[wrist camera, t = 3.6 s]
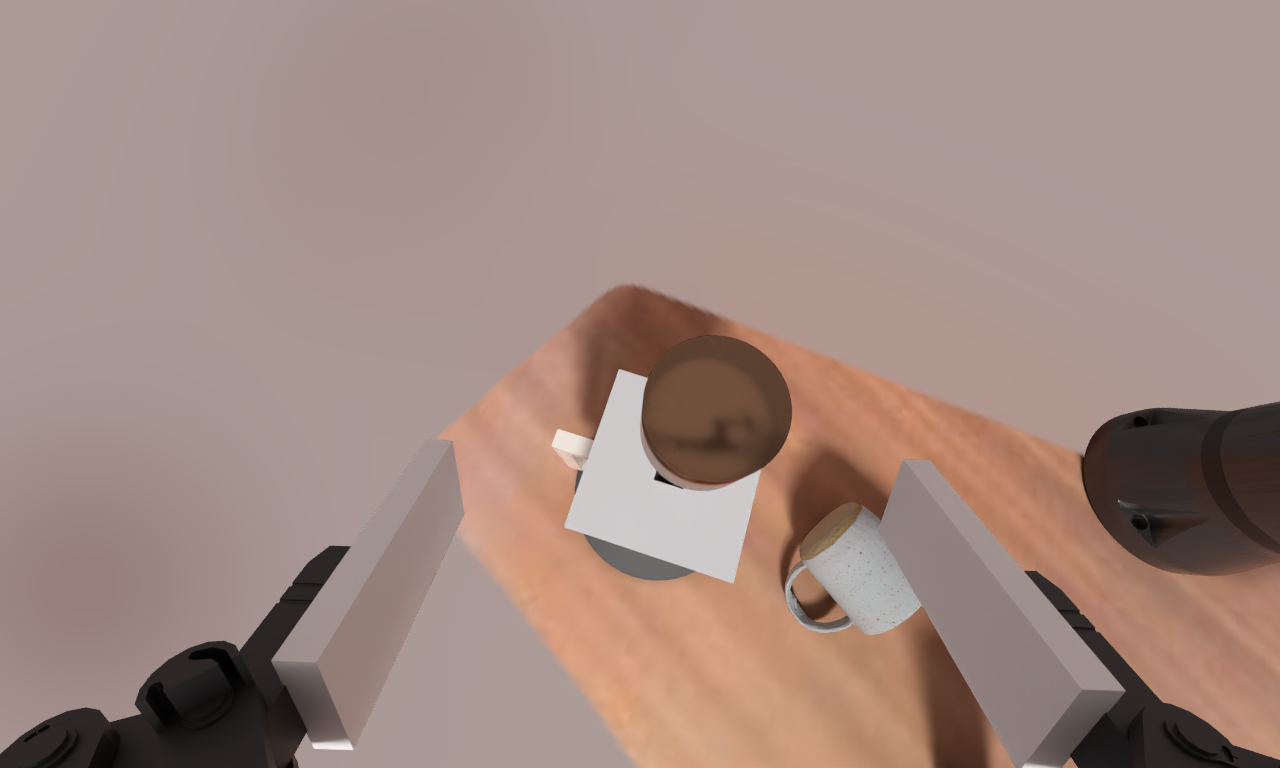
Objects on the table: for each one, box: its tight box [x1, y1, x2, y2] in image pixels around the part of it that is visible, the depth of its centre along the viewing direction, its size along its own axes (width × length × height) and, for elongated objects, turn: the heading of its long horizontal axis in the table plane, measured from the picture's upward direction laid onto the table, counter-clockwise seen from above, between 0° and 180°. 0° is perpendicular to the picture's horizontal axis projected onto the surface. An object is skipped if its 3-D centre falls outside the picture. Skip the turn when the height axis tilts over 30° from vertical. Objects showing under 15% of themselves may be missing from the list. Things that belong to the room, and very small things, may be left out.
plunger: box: [640, 336, 792, 491], centre depth 25 cm, size 8×8×22 cm
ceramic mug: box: [785, 502, 922, 635], centre depth 41 cm, size 11×8×8 cm
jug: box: [551, 369, 761, 583], centre depth 37 cm, size 13×10×16 cm
